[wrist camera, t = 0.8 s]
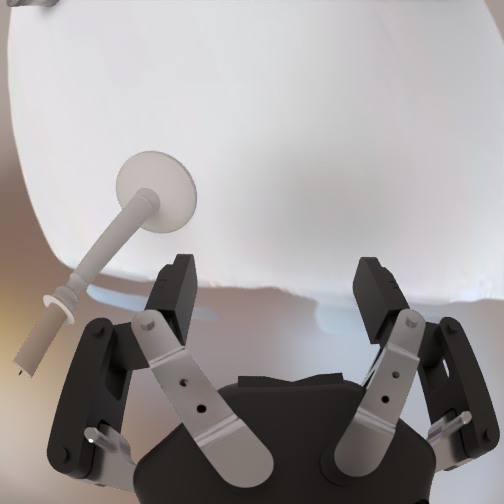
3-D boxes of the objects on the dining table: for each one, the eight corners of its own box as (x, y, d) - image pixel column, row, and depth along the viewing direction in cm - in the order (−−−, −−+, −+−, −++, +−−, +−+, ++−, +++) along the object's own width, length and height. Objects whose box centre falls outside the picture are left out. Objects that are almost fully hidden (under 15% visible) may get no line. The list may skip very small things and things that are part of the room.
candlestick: (212, 215, 38) (120, 432, 14) (146, 240, 42) (49, 406, 18) (168, 134, 31) (-30, 304, 7) (104, 175, 36) (-42, 320, 12)
